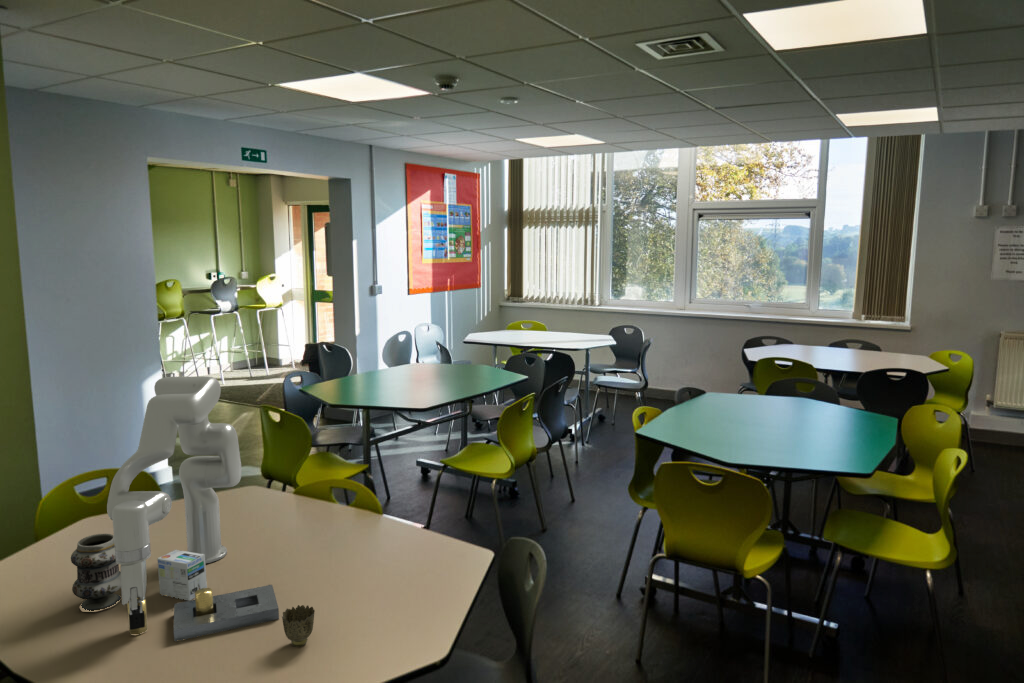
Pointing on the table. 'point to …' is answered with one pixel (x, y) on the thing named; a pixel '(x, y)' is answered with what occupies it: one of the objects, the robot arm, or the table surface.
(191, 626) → the jig
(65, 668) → the table surface
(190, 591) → the light bulb box
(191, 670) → the table surface
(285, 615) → the cup
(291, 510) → the table surface
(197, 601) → the seated bushing
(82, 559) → the apothecary jar
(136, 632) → the brass cylinder
